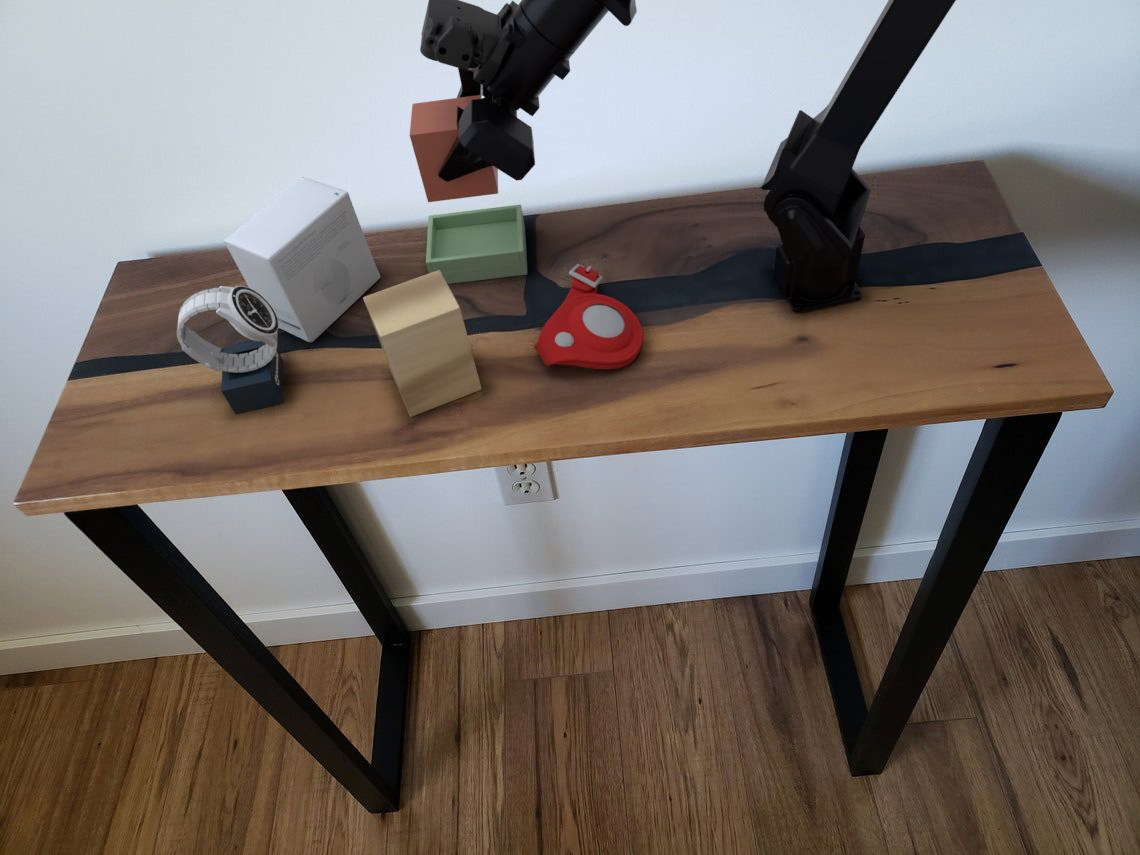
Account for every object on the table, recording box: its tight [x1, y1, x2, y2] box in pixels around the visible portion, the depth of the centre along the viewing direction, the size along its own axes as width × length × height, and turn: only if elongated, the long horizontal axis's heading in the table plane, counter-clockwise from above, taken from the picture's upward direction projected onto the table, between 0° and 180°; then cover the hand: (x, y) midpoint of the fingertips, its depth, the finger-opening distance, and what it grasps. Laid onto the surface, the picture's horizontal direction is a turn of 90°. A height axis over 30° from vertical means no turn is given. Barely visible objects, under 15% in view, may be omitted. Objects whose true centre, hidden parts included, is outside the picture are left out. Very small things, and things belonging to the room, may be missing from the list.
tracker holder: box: [533, 263, 644, 370], centre depth 78 cm, size 12×4×10 cm
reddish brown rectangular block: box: [409, 95, 499, 203], centre depth 78 cm, size 5×6×7 cm
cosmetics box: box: [223, 176, 381, 343], centre depth 82 cm, size 10×6×10 cm, turn 147°
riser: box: [362, 270, 483, 418], centre depth 73 cm, size 5×7×10 cm
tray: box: [425, 204, 529, 285], centre depth 87 cm, size 10×7×3 cm
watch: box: [176, 285, 284, 415], centre depth 75 cm, size 6×8×11 cm
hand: (443, 160), depth 79 cm, fingers closed on reddish brown rectangular block, 5 cm apart
